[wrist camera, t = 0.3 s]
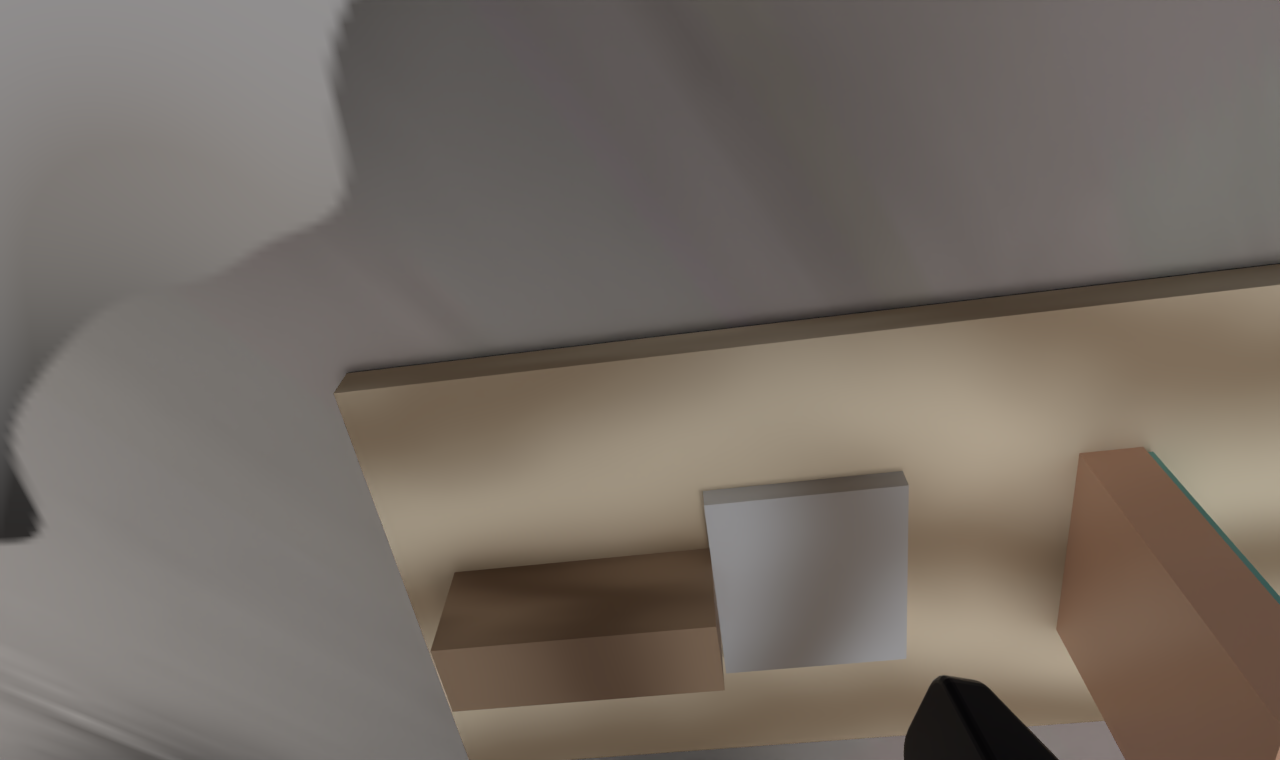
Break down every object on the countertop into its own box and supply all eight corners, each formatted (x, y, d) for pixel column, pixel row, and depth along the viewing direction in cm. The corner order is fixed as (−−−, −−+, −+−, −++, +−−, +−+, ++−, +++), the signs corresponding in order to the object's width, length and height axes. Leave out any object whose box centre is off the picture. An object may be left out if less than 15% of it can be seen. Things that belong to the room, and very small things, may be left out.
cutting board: (1382, 671, 26) (1407, 698, 25) (477, 740, 28) (471, 766, 27) (1559, 231, 19) (1602, 247, 18) (347, 373, 22) (333, 393, 21)
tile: (1119, 624, 24) (1307, 927, 17) (1055, 629, 24) (1217, 932, 17) (1151, 445, 21) (1395, 723, 14) (1079, 453, 21) (1285, 730, 14)
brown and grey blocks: (488, 676, 25) (470, 759, 23) (436, 517, 22) (409, 593, 20) (901, 642, 24) (927, 725, 22) (902, 471, 21) (933, 545, 19)
